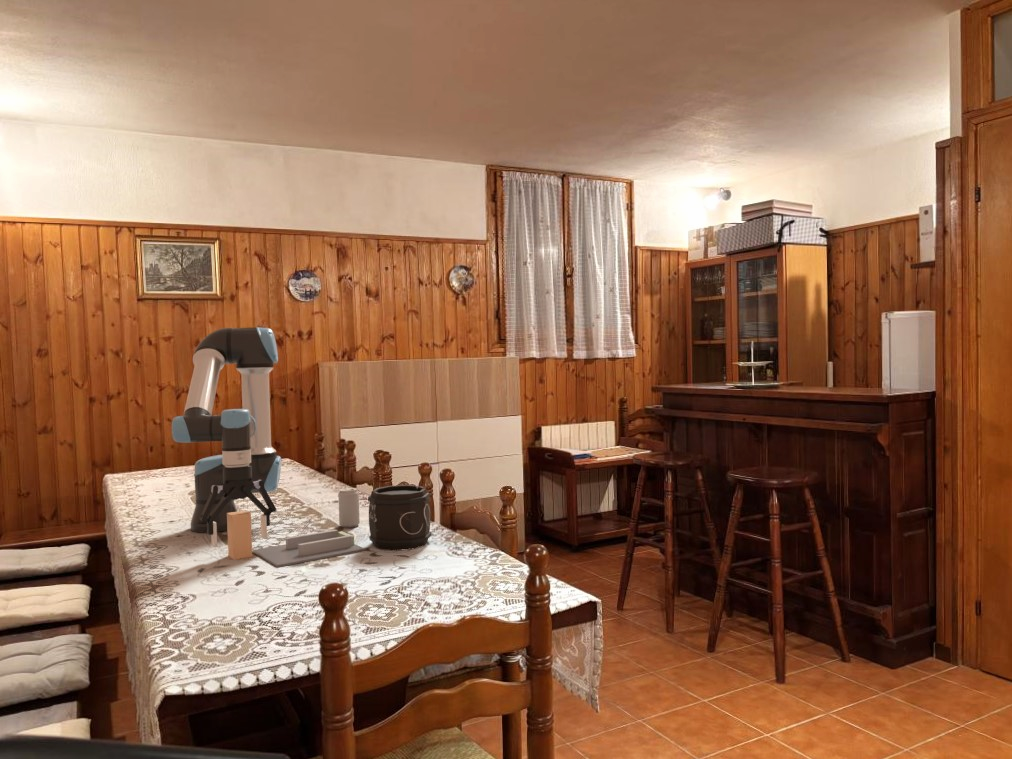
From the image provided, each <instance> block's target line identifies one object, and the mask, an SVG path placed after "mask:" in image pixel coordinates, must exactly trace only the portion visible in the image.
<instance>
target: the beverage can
mask: <svg viewBox="0 0 1012 759" xmlns="http://www.w3.org/2000/svg"><path fill="white" fill-rule="evenodd" d="M337 495H338V519H339V522H338V523H339V526H341V528H344V529H349V528H351V529H352V528H357V527H358V526H359V525H360V522H361V521H360V498H359V497H360V496H359V495H360V493H359V491H358V488H356V487H346V488H340V489H339V492H338V494H337Z"/></svg>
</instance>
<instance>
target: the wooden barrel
mask: <svg viewBox="0 0 1012 759" xmlns="http://www.w3.org/2000/svg"><path fill="white" fill-rule="evenodd" d="M430 498H431V494H430V493H429V492H428V490H427V488H426V487H425V486H424V487H423V486H421V485H420V486H419V485H412V484H402V485H401V484H400V485H397V484H396V485H387V486H382V487H381V486H380V487H376V488H375V489H373V490H372V491H371V494H370V495H369V496H368V498H367V501H368V503H369V504H368V506H369V507H368V527H369V533H370V535H369V537H368V539H369V541H371V543H372V546H373V547H375V548H377V550H378V549H379V550H386V551H393V550H394V551H403V550H402V549H407V550H413V549H412V548H414V549H418V548H421V547H425V545H426V544H427V543H428V541H429V539H430V537H432V532H431V531H430V530H431V506H430Z"/></svg>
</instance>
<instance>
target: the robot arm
mask: <svg viewBox="0 0 1012 759" xmlns="http://www.w3.org/2000/svg"><path fill="white" fill-rule="evenodd" d="M278 353H279V352H278V346H277V342H276V337H275V333H274V331H273V330H272V328H269V327H259V326H256V327H224V328H223V327H222V328H219V329H216V330H214V331H211V333H208V334H207V335H206V336H205V337H204V338H203V339H202V340H201V341H200V342H199V343H198V344H197V346H196V347H195V350H194V351H193V356H192V363H193V366H194V367H193V371H192V375H191V376H192V377H191V380H190V384H189V388H188V392H187V397H186V401H185V406H184V411H183V415H179V416H174V418H173V419H172V422H171V437H172V439H173V441H175V442H176V443H186V444H187V443H189V444H190V443H191V444H192V443H205V442H207V443H208V442H221V453H222V454H217V455H212V456H207V457H204V458H201V459H199V460H197V461H195V464H194V474H193V476H194V492H195V494H194V495H195V496H194V498H195V499H194V500H195V507H194V509H193V513H192V517H191V520H190V531H191V532H195V533H206V534H207V535H209V536H211V538H210V541H211V546H212V547H214V548H217V547H218V533H219V532H225V531H227V513H231V512H238V511H239V510H238V509H237V506H236V504H235V501H236V500H239V499H241V500H243V499H246V498H248V499H249V500H250V501H251V502H252V503H253V504H254V505H255V506H256V507H257V508H258V509H259V510H260V512H262V513H261V514H260V538H261V539H264V540H267V539H268V529H267V528H268V527H270V525H271V520H270V519H271V518H270V515H272V513H275V512H276V511H277V508H276V506H275V503H274V502H273V500H272V499H271V497H270V495H269V493H273V492H275V491H277V489H278V487H279V483H280V477H281V471H282V470H281V469H282V457H281V456H280V455H277V450H276V449H275V448H274V447H273V446H272V433H271V432H272V431H271V430H272V429H271V427H272V426H271V425H272V424H271V400H270V398H271V397H270V396H271V395H270V373H271V372H272V371H273V370H274V364H277V363H278V362H279V354H278ZM227 364H230V365H232V364H235V365H236V366H235V367H236V368H235V369H236V371H237V372H239V373H240V375H241V400H242V401H241V402H242V403H241V404H242V408H231V409H224V410H222V411H221V414H213V410H214V409H213V408H214V403H215V400H216V399H215V398H216V393H217V388H218V383H219V378H220V373H221V370H223V368H224V366H225V365H227ZM255 494H260V495H261V498H263V501H264V502H265V504H266V506H267V507H266V506H265V505H264V504H263V503H262V502H261V501H260V500H259V499H258V498H257V496H255Z"/></svg>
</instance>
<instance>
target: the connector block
mask: <svg viewBox="0 0 1012 759" xmlns="http://www.w3.org/2000/svg"><path fill="white" fill-rule="evenodd" d="M237 511H238V512H231V513H227V530H226V531H227V551H228V552H227V553H228V557H229V558H230V559H232V560H234V559H235V560H240V558H241V559H245V558H251V557H253V552H252V550H253V540H252V539H253V538H252V513H251V512H249V511H247V510H237Z"/></svg>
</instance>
